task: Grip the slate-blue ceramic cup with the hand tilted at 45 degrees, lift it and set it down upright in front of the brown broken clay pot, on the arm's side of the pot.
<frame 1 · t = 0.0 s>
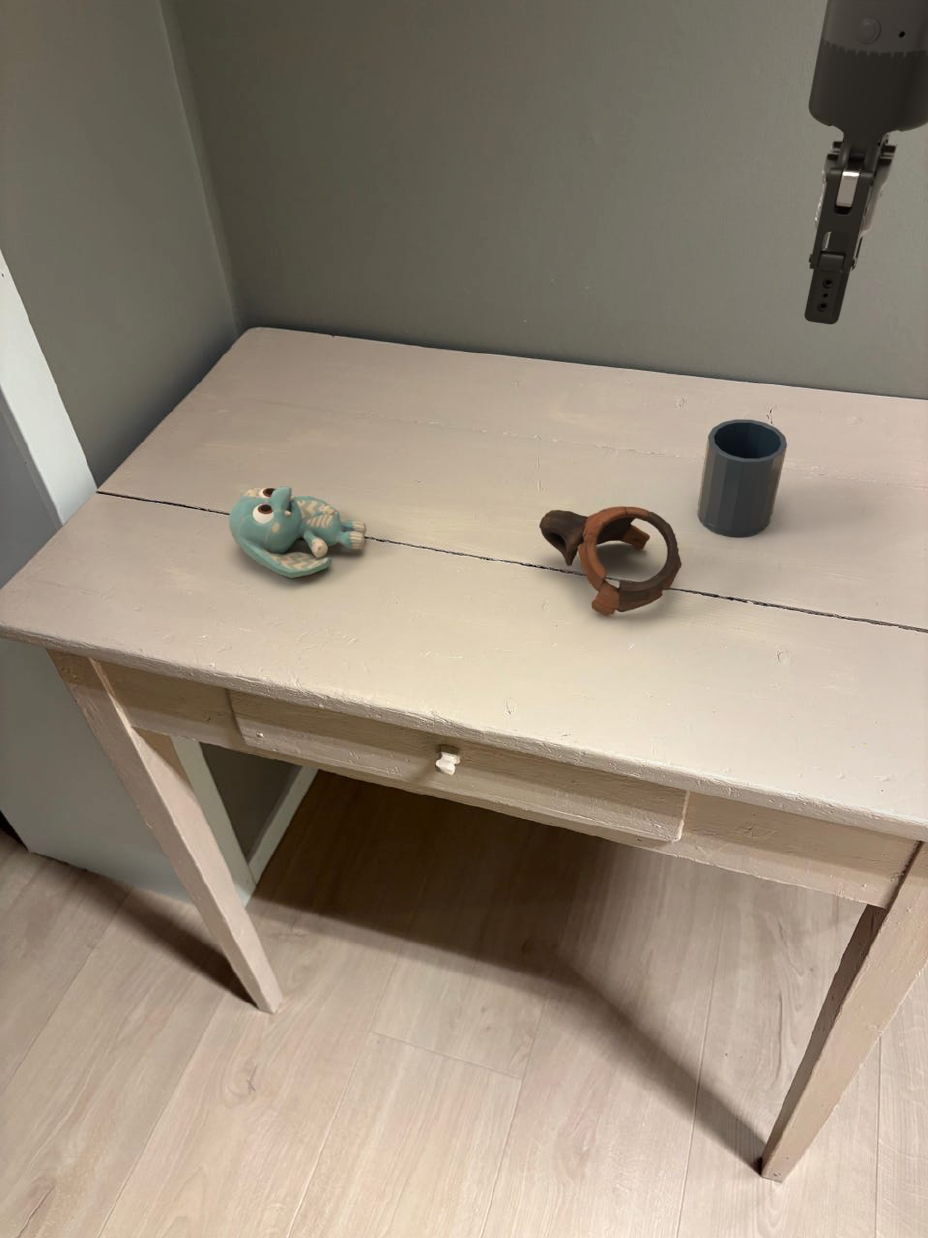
hand: (830, 293, 67), 23 cm above the table, tool pointing down, fingers open, 8 cm apart
cup: (733, 514, 87), on the table
stuffed animal: (302, 550, 86), on the table
brown broken clay pot: (606, 579, 81), on the table
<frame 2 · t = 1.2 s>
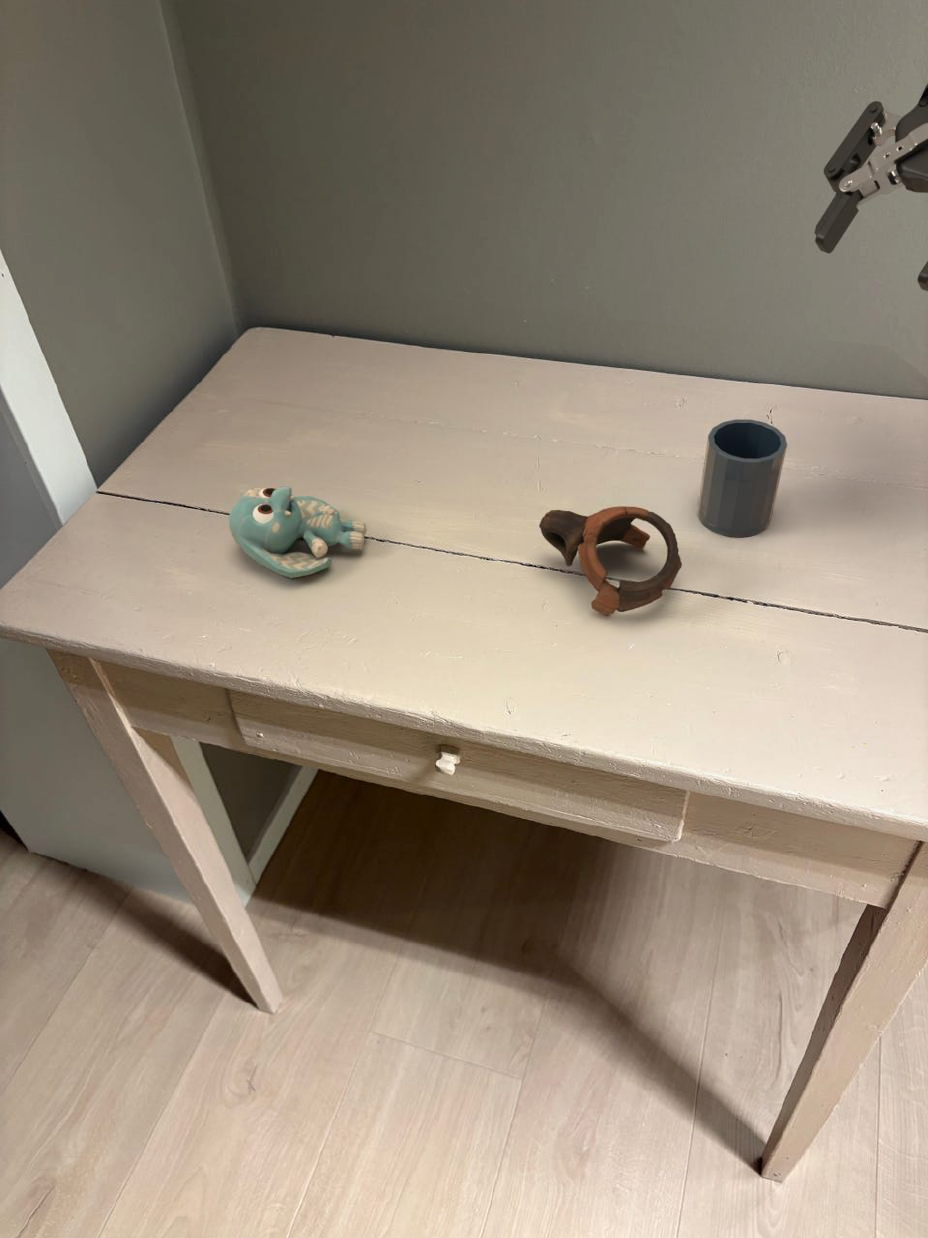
hand: (871, 266, 70), 23 cm above the table, tool tilted 45°, fingers open, 8 cm apart
nothing on the table moved.
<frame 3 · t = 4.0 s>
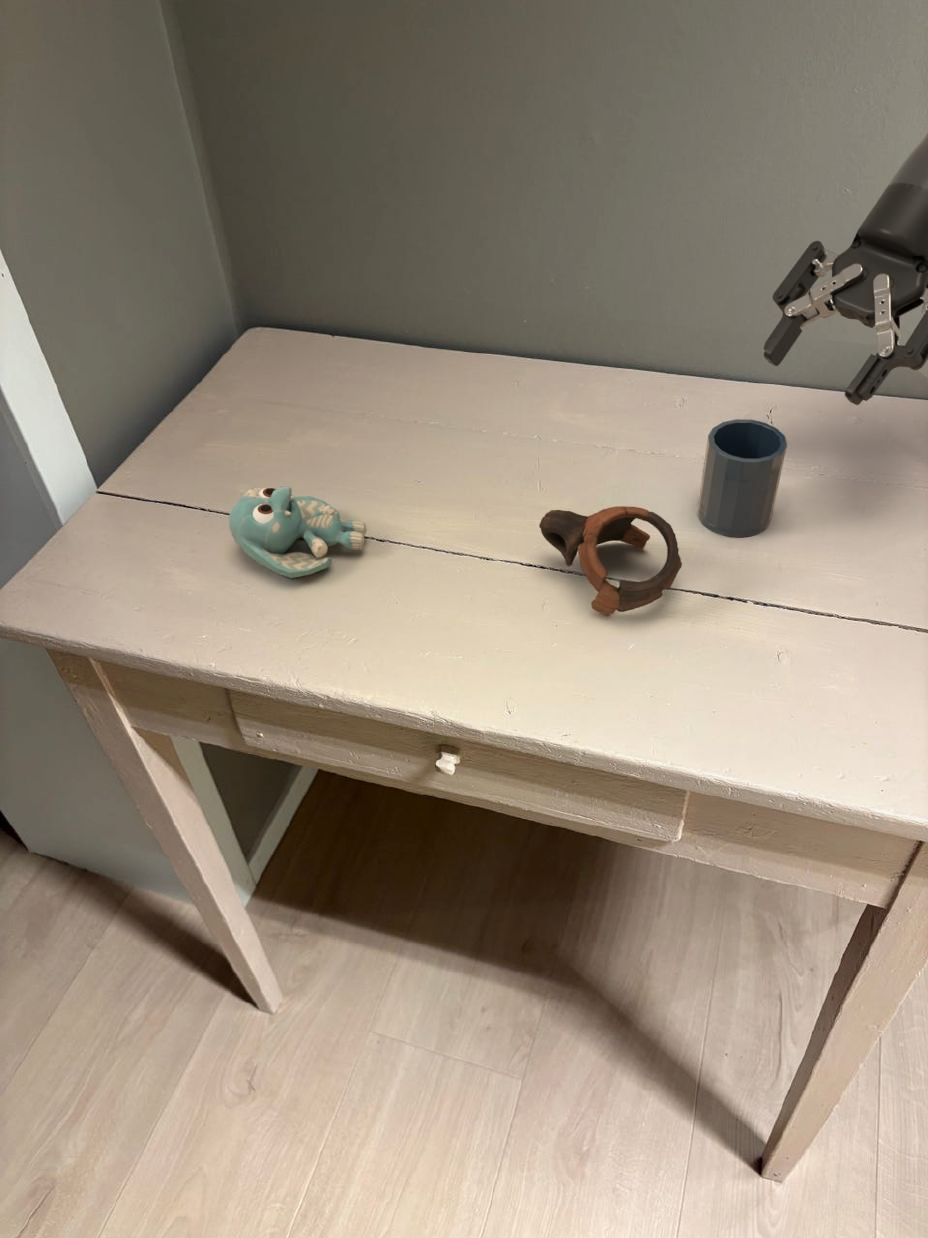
hand: (809, 380, 82), 11 cm above the table, tool tilted 45°, fingers open, 8 cm apart
nothing on the table moved.
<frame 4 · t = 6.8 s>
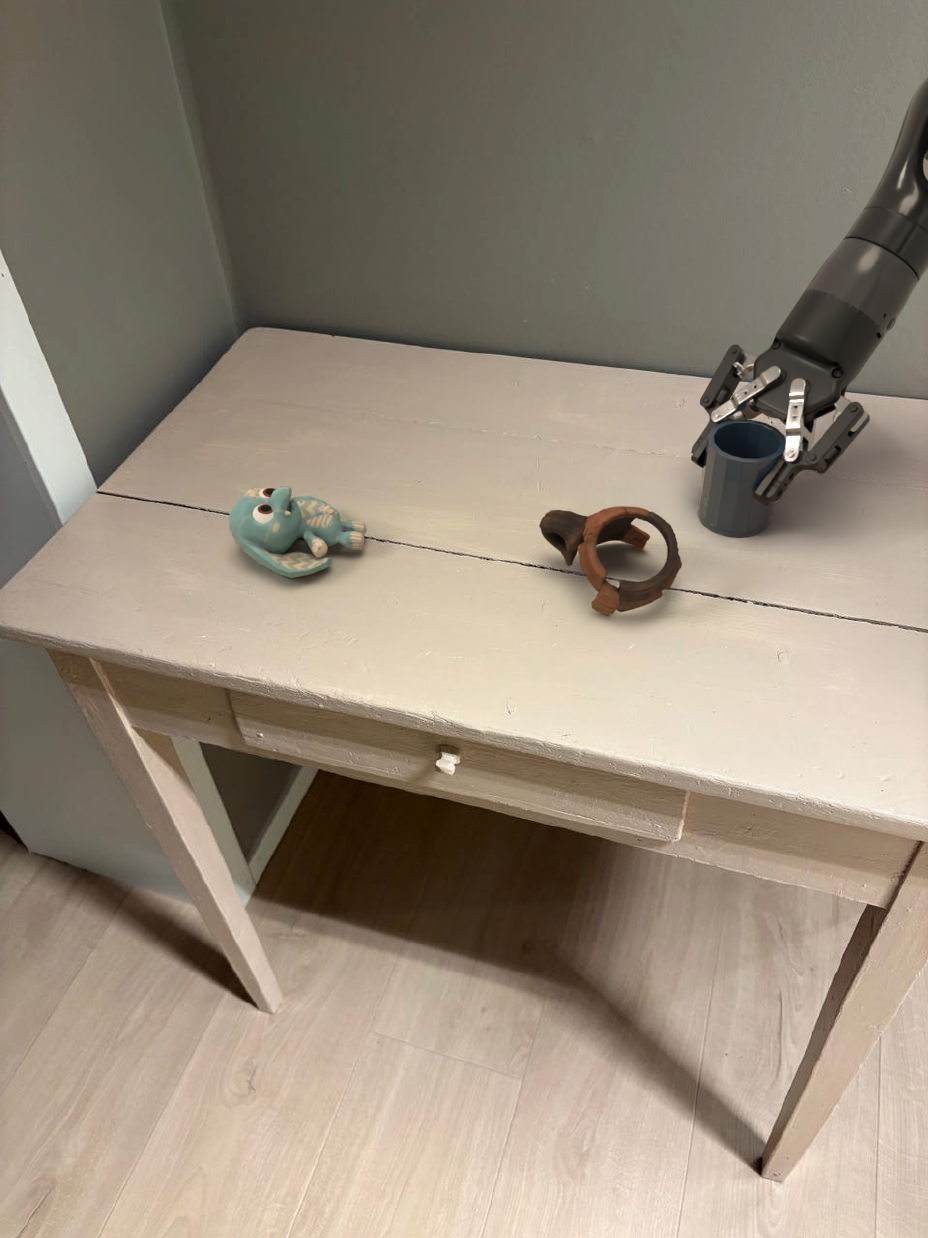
hand: (728, 482, 83), 4 cm above the table, tool tilted 45°, fingers closed on cup, 6 cm apart
cup: (733, 514, 86), on the table, touching gripper
everything else where it was.
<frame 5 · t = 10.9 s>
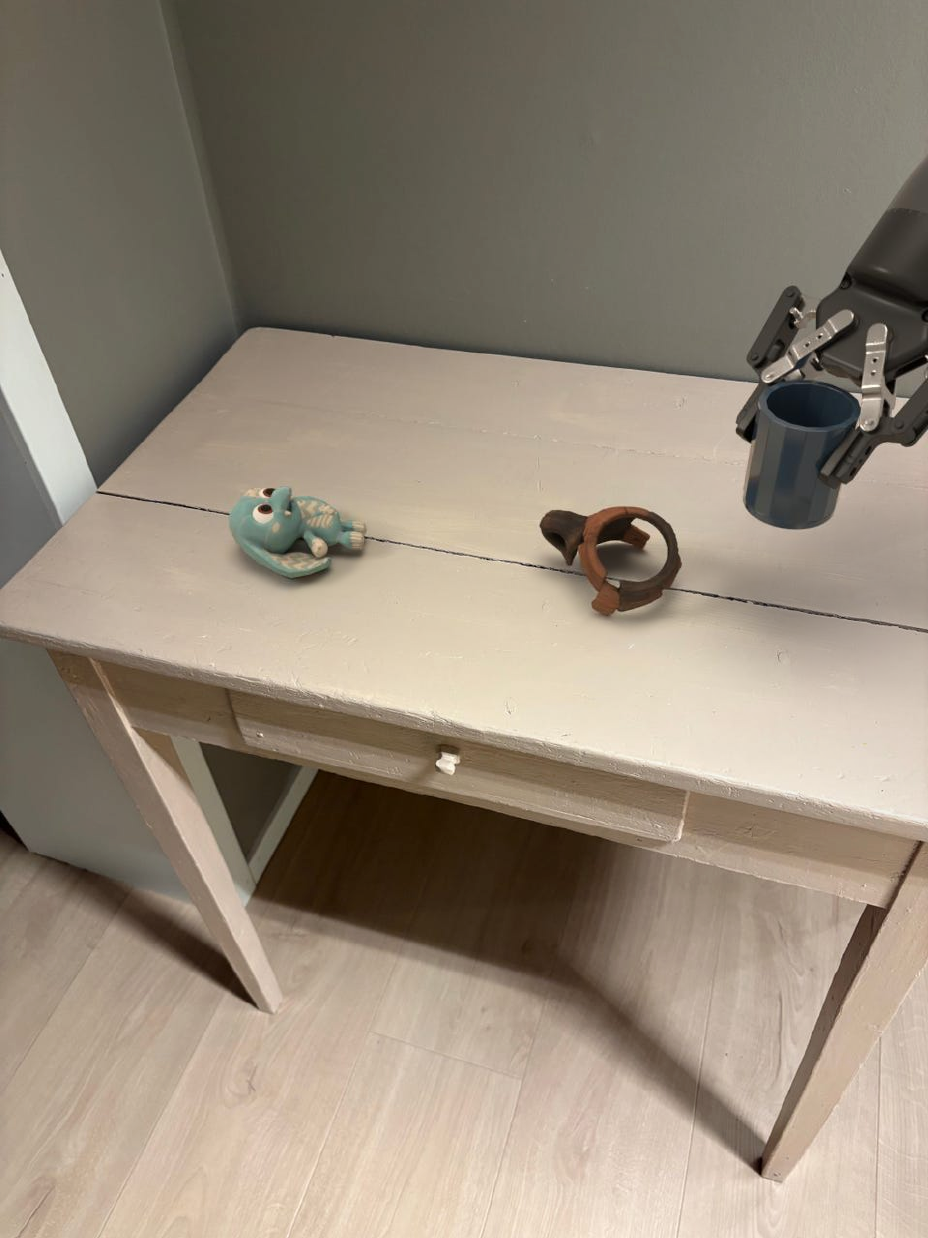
hand: (784, 459, 65), 16 cm above the table, tool tilted 45°, fingers closed on cup, 6 cm apart
cup: (788, 502, 69), point 12 cm above the table, touching gripper
everything else where it was.
when the fingers open (4 cm above the table, at t = 15.4 s): cup stays where it is, on the table.
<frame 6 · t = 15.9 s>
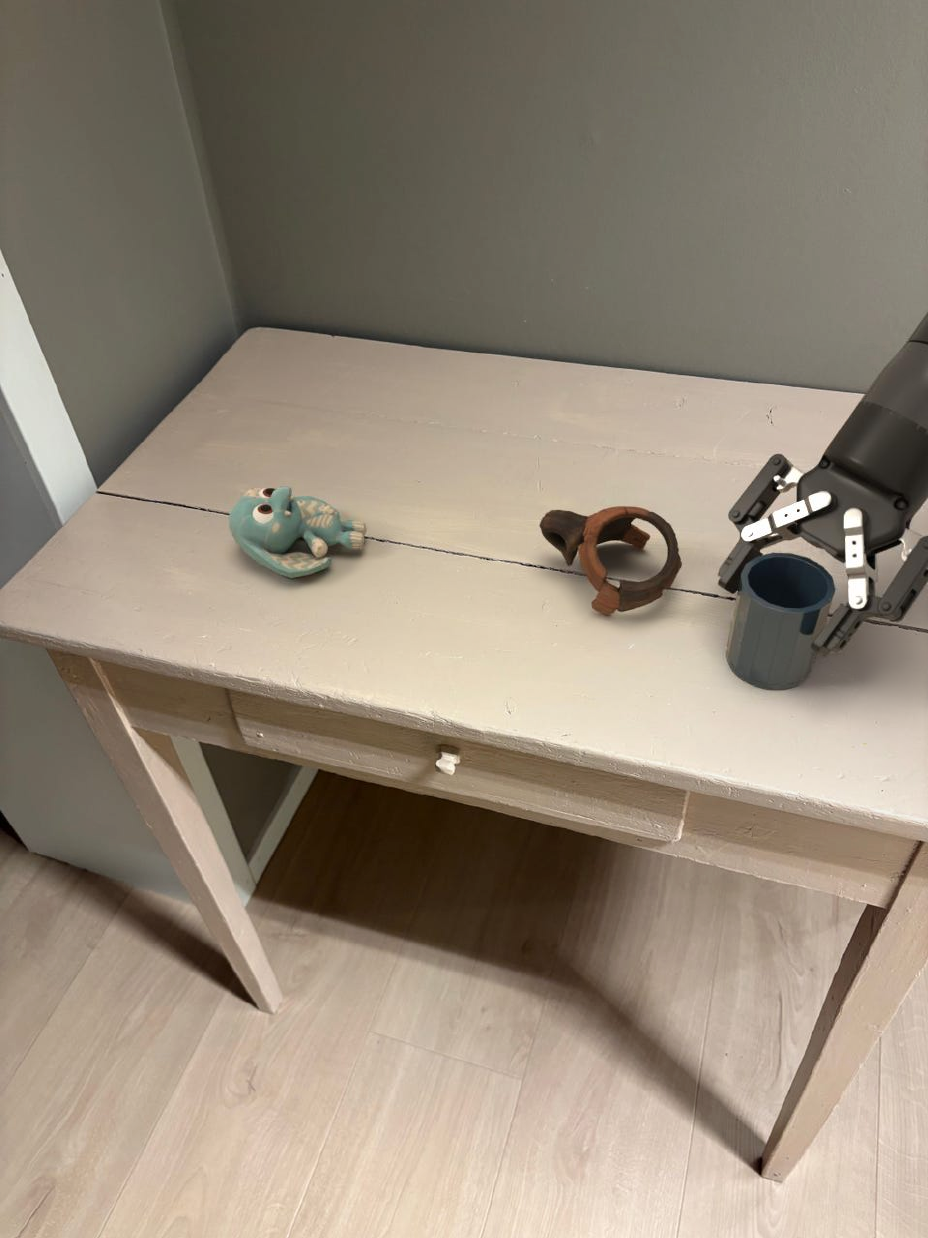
hand: (770, 620, 69), 5 cm above the table, tool tilted 45°, fingers open, 8 cm apart
cup: (768, 659, 74), on the table
everything else where it was.
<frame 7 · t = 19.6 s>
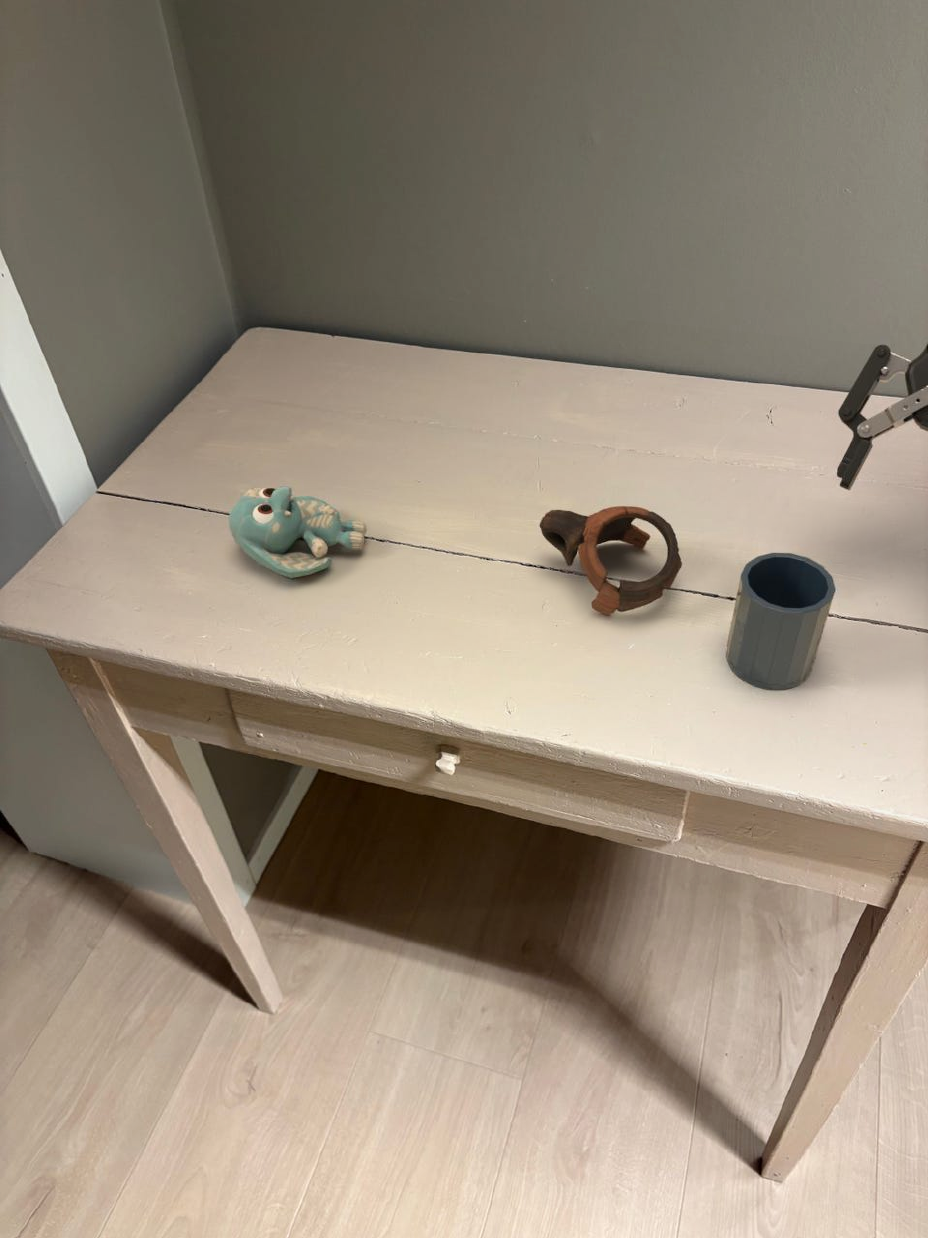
hand: (899, 511, 71), 9 cm above the table, tool tilted 40°, fingers open, 8 cm apart
nothing on the table moved.
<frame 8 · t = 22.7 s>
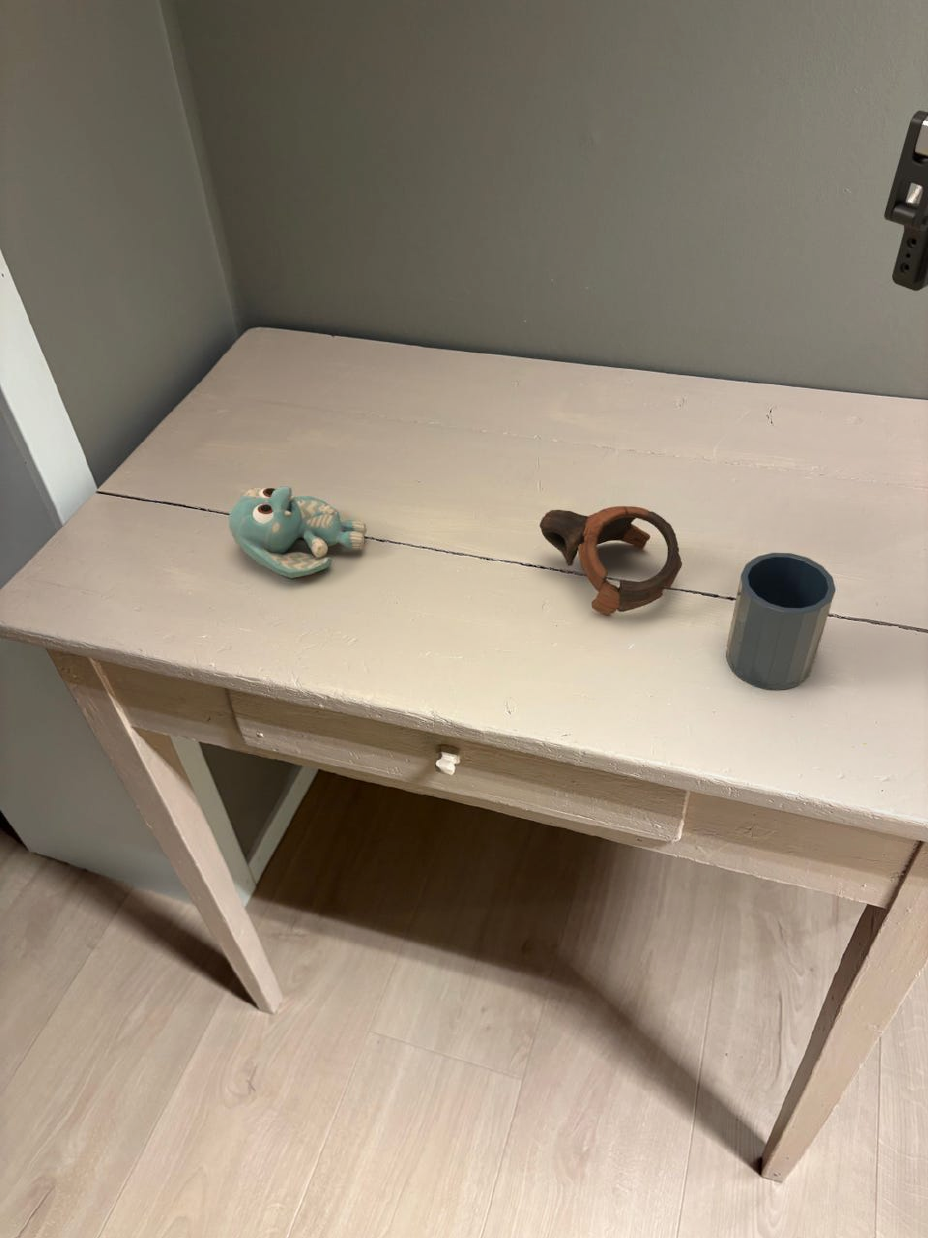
nothing on the table moved.
at the end: cup 0.1 cm from the target spot, on the table; cup tilted 0°; brown broken clay pot moved 0.2 cm from its start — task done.
